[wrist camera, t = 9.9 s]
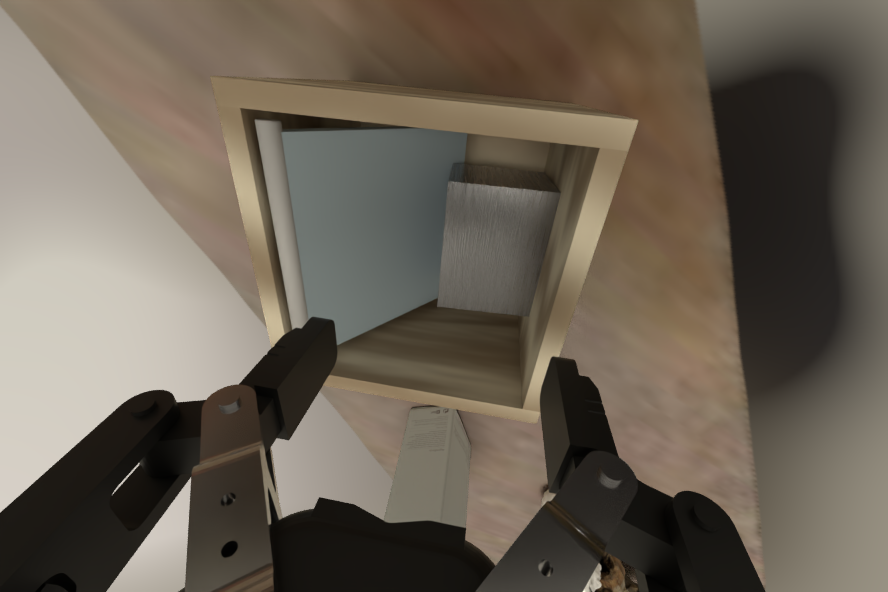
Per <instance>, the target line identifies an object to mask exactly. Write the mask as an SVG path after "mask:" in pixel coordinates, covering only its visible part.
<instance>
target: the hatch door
mask: <svg viewBox="0 0 888 592" xmlns="http://www.w3.org/2000/svg"><path fill="white" fill-rule="evenodd" d="M255 125H256V131H257V136H258V142H259V147H260V153H261V158H262V164H263V169H264V175H265V181H266V186H267V192H268V197H269V203H270V208H271V214H272V219H273V225H274V231H275V236H276V242H277V247H278V253H279V258H280V264H281V269H282V275H283V281H284V286H285V292H286V297H287V303H288V308H289V314H290V319H291V325H292V330H293V329H294V328H302V327H303V326H304V325H305V324H306V322H307V321H308V320H309V319H310V318H311V317H319V318H325V319H331V320H333V321H334V323H335V331H336V341H337V345H339V344H341V343H343V342H345V341H347V340H350V339H352V338H354V337H356V336H358V335H360V334H362V333H364V332H367V331H369V330H371V329H373V328H375V327H377V326H379V325H381V324H383V323H386V322H388V321H390V320H392V319H394V318H396V317H398V316H400V315H403V314H405V313H407V312H409V311H411V310H413V309H415V308H417V307H420V306H422V305H424V304H426V303H428V302H430V301H432V300H434V299H437V298H438V291H439V280H440V269H441V257H442V246H443V234H444V223H445V212H446V200H447V189H448V180H449V176H450V172H451V168H452V165H453V163H458V164H464V161H465V152H466V143H467V133H461V132H452V131H443V130H434V129H425V128H416V127H407V126H398V127H353V128H308V129H282V123H281V120H276V119H255Z"/></svg>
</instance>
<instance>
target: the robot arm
mask: <svg viewBox="0 0 888 592" xmlns="http://www.w3.org/2000/svg"><path fill="white" fill-rule="evenodd" d="M337 353H338V351H337V341H336V331H335V323H334V321H333V320H331V319H325V318H319V317H311V318H310V319H309V320H308V321H307V322H306V324H305V325H304V326H303V327H302V328H294V329H293V330H291V331H289V332H288V333H286V334H284V335H283V336H282V337H281V338H280V339H279V340H278V341H277V343H276V344H275V345H274V347H272V348H271V349H270V350H269V351H268V353H267V355H265V356H264V357H263V358H262V359H261V360H260V362H259V363H258V364H257V365H256V366H255V367H254V368H253V369H252V370H251V371H250V373H249V374H248V375H247V376H246V377H245V378H244V379H243V380H242V382H241V383H240V384H239V385H231V386H227V387H224V388H222V389H220V390H218V391H216V392H215V393H213V394H212V395H211V396H210V397H208V398H207V400H202V401H189V402H176V400H175V398H174V396H173V394H172V393H170V392H168V391H164V390H153V391H148V392H144V393H141V394H139V395H137V396H134V397H132V398H131V399H129V400H127V401H126V402H124V403H123V404H122V405H121V406H119V407H118V408H117V409H116V410H115V411H114V412H113V413H112V414H111V415H109V416H108V417H107V418H106V419H105V420H104V421H103V422H102V423H100V424H99V425H98V426H97V427H96V428H95V429H94V430H93V431H91V432H90V433H89V434H88V435H87V436H86V437H85V438H84V439H82V440H81V441H80V442H79V443H78V444H77V445H76V446H75V447H74V448H72V449H71V450H70V451H69V452H68V453H67V454H66V455H65V456H63V457H62V458H61V459H60V460H59V461H58V462H57V463H56V464H55V465H53V466H52V467H51V468H50V469H49V470H48V471H47V472H45V474H43V475H42V476H41V477H40V478H39V479H38V480H36V481H35V482H34V483H33V484H32V485H31V486H30V487H29V488H28V489H27V490H25V491H24V492H23V493H22V494H21V495H20V496H19V497H17V498H16V499H15V500H14V501H13V502H12V503H11V504H10V505H9V506H7V507H6V508H5V509H4V510H3V511H2V512H1V513H0V592H106V591H107V590H108V588H109V587H110V586H111V584H112V583H113V582H114V580H115V579H116V578H117V576H118V575H119V573H120V572H121V571H122V569H123V568H124V567H125V565H126V564H127V563H128V561H129V560H130V558H131V557H132V556H133V555H134V553H135V552H136V551H137V549H138V548H139V546H140V545H141V544H142V542H143V541H144V540H145V538H146V537H147V535H148V534H149V533H150V532H151V530H152V529H153V528H154V526H155V524H156V523H157V522H158V521H159V519H160V518H161V517H162V515H163V514H164V513H165V511H166V510H167V509H168V507H169V506H170V504H171V503H172V502H173V500H174V499H175V497H176V496H177V495H178V494H179V492H180V491H181V489H182V488H183V487H184V485H185V484H186V483H187V482H188V480H189V479H190V477H191V493H190V510H189V528H188V546H187V563H186V582H185V587H184V588H183V589H182V590H180V591H179V592H583V590H584V588H585V587H586V585H587V583H588V581H589V580H590V578H591V576H592V574H593V572H594V571H595V569H596V567H597V565H598V563H599V562H600V560H601V558H602V556H603V554H604V552H607V553H608V554H610V555H612V556H614V557H616V558H617V559H619V560H621V561H623V562H625V563H626V564H628V565H630V566H632V567H633V568H635V573H636V577H637V582H638V587H639V592H765V590H764V587H763V585H762V583H761V581H760V579H759V577H758V575H757V572H756V570H755V568H754V566H753V564H752V562H751V559H750V557H749V555H748V553H747V551H746V549H745V547H744V544H743V542H742V540H741V538H740V536H739V534H738V531H737V529H736V527H735V525H734V523H733V522H732V520H731V519H730V517H729V516H728V515H727V514H726V512H725V511H724V510H723V509H722V508H721V507H720V506H718V505H717V504H716V503H715V502H713V501H712V500H710V499H709V498H707V497H705V496H704V495H701V494H699V493H696V492H692V491H682V492H679V493H677V494H676V495H675V497H674V498H673V497H671V496H668V495H666V494H664V493H662V492H660V491H658V490H656V489H654V488H652V487H649V486H647V485H646V484H644V483H642V482H641V481H639V480H638V479H637V478H636V476H635V474H634V472H633V471H632V469H631V468H630V467H629V465H628V464H627V463H626V462H624V461H623V460H622V459H621V458H619V456H618V453H617V450H616V447H615V443H614V440H613V437H612V433H611V430H610V427H609V424H608V420H607V417H606V415H605V410H604V407H603V404H602V400H601V397H600V394H599V390H598V388H597V387H596V386H595V385H594V383H593V382H592V381H591V379H590V378H589V377H586V376H580V375H579V373H578V369H577V365H576V362H575V360H573V359H567V358H561V357H555V356H552V357H551V359H550V362H549V365H548V368H547V372H546V375H545V378H544V381H543V384H542V387H541V392H540V411H541V421H542V430H543V440H544V449H545V459H546V468H547V478H548V488H549V493H554V494H556V495H555V497H554V498H553V499H552V500H551V501H547V502H546V503H545V504H544V505H543V506H542V508H541V509H540V510H539V511H538V513H537V514H536V515H535V516H534V518H533V519H532V520H531V521H530V523H529V524H528V525H527V527H526V528H525V529H524V530H523V532H522V533H521V534H520V535H519V537H518V538H517V539H516V541H515V542H514V543H513V544H512V546H511V547H510V548H509V549H508V551H507V552H506V553H505V555H504V556H503V557H502V558H501V560H500V561H499V562H498V563H497V565H496V566H495V565H494V563H493V562H492V561H491V560H490V559H489V558H488V557H487V556H486V555H485V554H484V553H483V552H482V551H481V550H480V549H478V548H477V547H476V546H474V545H473V544H471V543H469V542H468V541H466V540H465V533H466V528H464V527H459V526H454V525H450V524H445V523H440V522H435V521H430V520H425V521H411V522H398V523H388V522H385V521H383V520H381V519H380V518H378V517H376V516H374V515H372V514H371V513H368V512H367V511H365V510H363V509H361V508H360V507H358V506H356V505H354V504H349V503H344V502H340V501H335V500H330V499H325V498H319V499H318V501H317V503H316V506H315V508H314V509H309V510H304V511H300V512H297V513H294V514H291V515H289V516H286V517H284V518H283V517H282V513H281V508H280V503H279V498H278V491H277V484H276V477H275V470H274V463H273V456H272V450H271V446H272V444H273V443H274V441H275V439H276V438H280V439H285V440H289V439H290V438H291V436H292V435H293V433H294V431H295V430H296V428H297V426H298V425H299V423H300V421H301V420H302V418H303V417H304V415H305V413H306V412H307V410H308V409H309V407H310V405H311V403H312V402H313V400H314V399H315V397H316V396H317V394H318V392H319V391H320V389H321V387H322V386H323V384H324V383H325V381H326V379H327V378H328V376H329V374H330V373H331V371H332V370H333V368H334V366H335V363H336V360H337ZM138 463H140V465H139V466H138V467H137V468H136V469H135V471H134V472H133V473H132V474H131V475H130V476H129V477H128V478H127V479H126V480H125V482H124V483H123V484H122V485H121V486H120V487H119V488H118V489H117V491H116V492H115V493H114V494H113V495H112V493H113V492H114V490H115V489H116V488H117V486H118V485H119V484H120V483H121V482H122V481H123V479H124V478H125V477H126V476H127V475H128V474H129V473H130V472H131V471H132V470H133V468H134V467H135V466H136V465H137V464H138Z"/></svg>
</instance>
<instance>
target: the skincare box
mask: <svg viewBox="0 0 888 592" xmlns="http://www.w3.org/2000/svg"><path fill="white" fill-rule="evenodd" d="M470 454H471V445H470V442H469V440H468V437H467V434H466V432H465V429H464V427H463V424H462V422H461V419H460V417H459V415H458V413H457V410H456V409H451V408H446V407H440V406H437V407H419V408H412V409H411V410H410V413H409V418H408V422H407V426H406V430H405V434H404V438H403V443H402V447H401V451H400V455H399V459H398V463H397V467H396V471H395V475H394V480H393V484H392V488H391V492H390V496H389V501H388V505H387V509H386V513H385V517H384V521H385V522H388V523H398V522H411V521H425V520H430V521H435V522H440V523H445V524H450V525H454V526H459V527H464V528H466V517H467V502H468V485H469V469H470Z"/></svg>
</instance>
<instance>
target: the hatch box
mask: <svg viewBox="0 0 888 592" xmlns="http://www.w3.org/2000/svg"><path fill="white" fill-rule="evenodd" d="M210 78H211V82H212V87H213V91H214V96H215V100H216V104H217V109H218V113H219V118H220V122H221V126H222V131H223V135H224V140H225V144H226V149H227V153H228V157H229V162H230V166H231V171H232V175H233V179H234V184H235V188H236V193H237V197H238V201H239V206H240V210H241V215H242V219H243V224H244V228H245V232H246V237H247V241H248V246H249V250H250V254H251V259H252V263H253V268H254V272H255V277H256V281H257V285H258V290H259V294H260V299H261V303H262V307H263V312H264V316H265V321H266V325H267V329H268V334H269V338H270V343H271V347H274V345H275V344H276V343H277V341H278V340H279V339H280V338H281V337H282V336H283V335H284V334H286V333H288V332H289V331H291V330H292V325H291V319H290V314H289V308H288V303H287V297H286V292H285V286H284V281H283V275H282V269H281V264H280V258H279V253H278V247H277V242H276V236H275V231H274V225H273V219H272V214H271V208H270V203H269V197H268V192H267V186H266V181H265V175H264V169H263V164H262V158H261V153H260V147H259V142H258V136H257V131H256V125H255V119H276V120H281V123H282V129H308V128H353V127H398V126H407V127H416V128H425V129H434V130H443V131H452V132H461V133H467V143H466V152H465V161H464V164H468V165H477V166H487V167H497V168H507V169H516V170H526V171H536V172H545V173H546V175H547V176H548V177H549V178H550V180H551V181H552V182H553V183H554V185H555V186H556V187H557V188H558V190H559V191H560V192H561V195H560V199H559V203H558V207H557V211H556V215H555V218H554V222H553V226H552V230H551V234H550V238H549V242H548V246H547V249H546V253H545V257H544V261H543V265H542V269H541V273H540V277H539V280H538V284H537V288H536V292H535V296H534V300H533V304H532V308H531V311H530V315H529V317H527V316H518V315H509V314H500V313H491V312H481V311H472V310H463V309H454V308H445V307H437V303H438V298H437V299H434V300H432V301H430V302H428V303H426V304H424V305H422V306H420V307H417V308H415V309H413V310H411V311H409V312H407V313H405V314H403V315H400V316H398V317H396V318H394V319H392V320H390V321H388V322H386V323H383V324H381V325H379V326H377V327H375V328H373V329H371V330H369V331H367V332H364V333H362V334H360V335H358V336H356V337H354V338H352V339H350V340H347V341H345V342H343V343H341V344H339V345H337V351H338V353H337V360H336V363H335V366H334V368H333V370H332V371H331V373H330V374H329V376H328V378H327V379H326V381H325V383H324V384H323V385H324V386H329V387H335V388H340V389H346V390H351V391H357V392H362V393H368V394H373V395H379V396H385V397H390V398H396V399H401V400H407V401H412V402H418V403H423V404H429V405H435V406H440V407H446V408H451V409H457V410H462V411H468V412H473V413H479V414H485V415H490V416H496V417H501V418H507V419H512V420H518V421H523V422H529V423H535V424H536V423H537V420H538V417H539V414H540V392H541V387H542V384H543V381H544V378H545V375H546V372H547V368H548V365H549V362H550V359H551V357H552V356H555V357H559V355H560V352H561V349H562V346H563V343H564V340H565V337H566V334H567V331H568V328H569V325H570V322H571V319H572V316H573V314H574V311H575V308H576V305H577V302H578V299H579V296H580V293H581V290H582V287H583V284H584V281H585V278H586V275H587V272H588V269H589V266H590V263H591V260H592V257H593V254H594V251H595V248H596V245H597V242H598V239H599V236H600V233H601V230H602V227H603V225H604V222H605V219H606V216H607V213H608V210H609V207H610V204H611V201H612V198H613V195H614V192H615V189H616V186H617V183H618V180H619V177H620V174H621V171H622V168H623V165H624V162H625V159H626V156H627V153H628V150H629V147H630V144H631V141H632V138H633V136H634V133H635V130H636V127H637V124H638V121H639V120H636V119H632V118H628V117H624V116H620V115H616V114H612V113H608V112H605V111H601V110H597V109H593V108H589V107H585V106H581V105H577V104H574V103H564V102H554V101H544V100H534V99H524V98H514V97H505V96H495V95H485V94H475V93H465V92H455V91H445V90H435V89H425V88H415V87H405V86H395V85H386V84H376V83H366V82H356V81H340V80H311V79H282V78H253V77H223V76H210Z"/></svg>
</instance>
